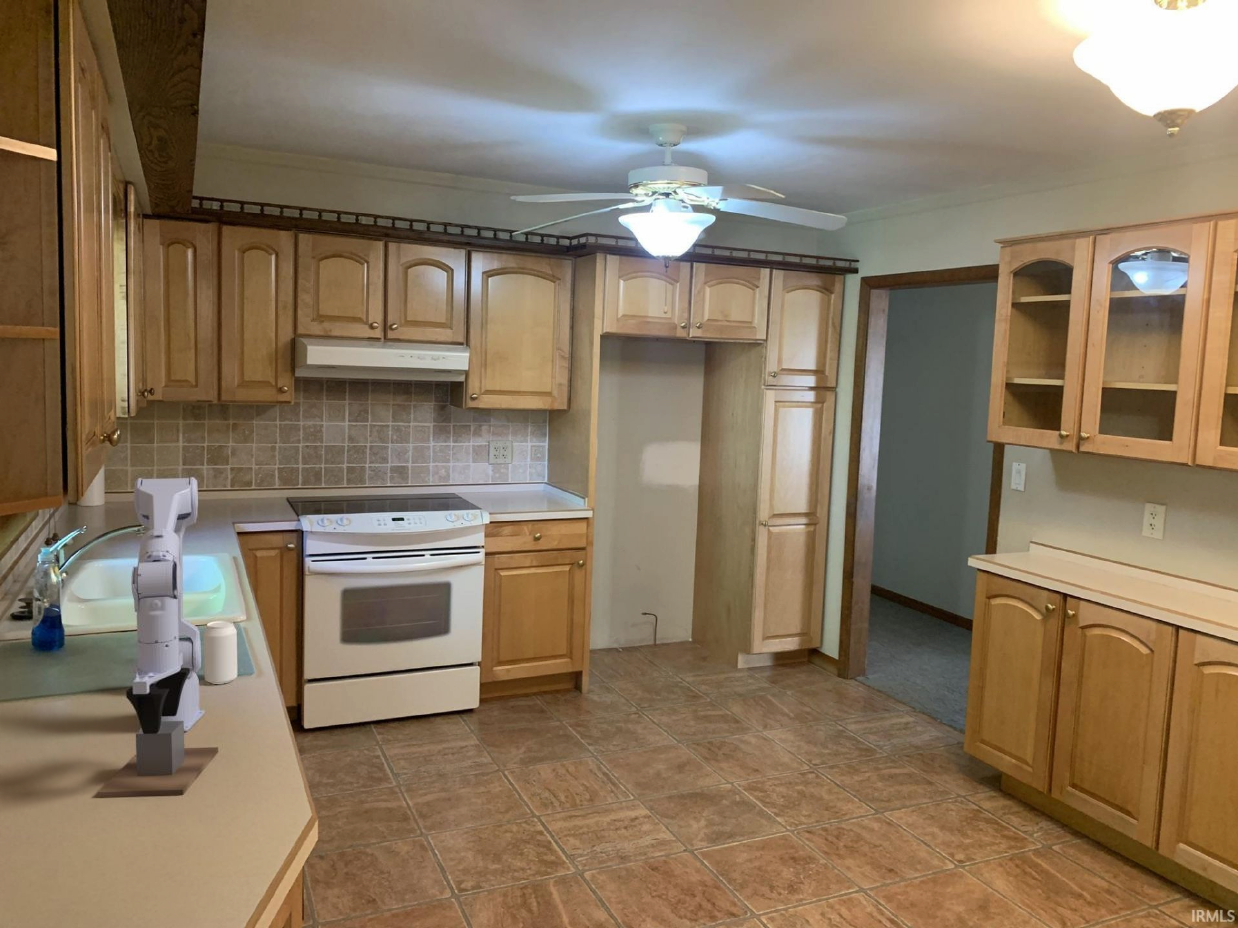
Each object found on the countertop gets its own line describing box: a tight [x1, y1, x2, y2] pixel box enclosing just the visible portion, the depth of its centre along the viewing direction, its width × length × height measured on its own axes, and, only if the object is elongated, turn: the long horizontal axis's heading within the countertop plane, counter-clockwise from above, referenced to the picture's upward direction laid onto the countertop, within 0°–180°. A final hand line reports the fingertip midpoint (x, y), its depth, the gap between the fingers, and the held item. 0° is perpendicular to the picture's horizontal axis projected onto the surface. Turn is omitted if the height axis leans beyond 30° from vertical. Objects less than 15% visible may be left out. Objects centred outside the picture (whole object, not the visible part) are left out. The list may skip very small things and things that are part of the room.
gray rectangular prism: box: [135, 721, 185, 776], centre depth 143 cm, size 5×5×7 cm
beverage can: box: [203, 620, 238, 683], centre depth 187 cm, size 6×6×12 cm
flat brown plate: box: [97, 746, 219, 798], centre depth 143 cm, size 16×12×6 cm
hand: (160, 724), depth 143 cm, fingers open, 7 cm apart
